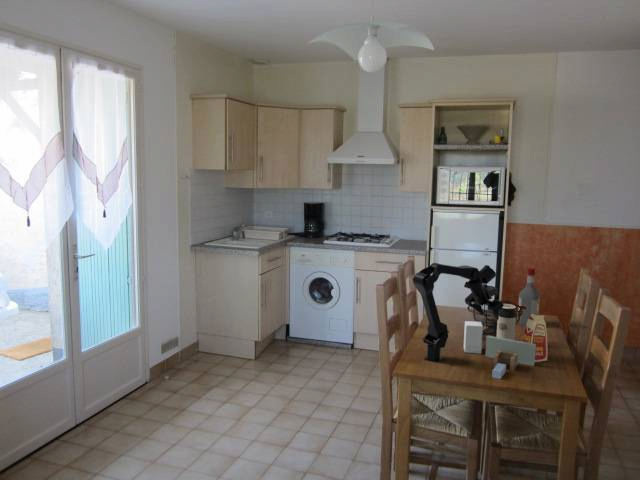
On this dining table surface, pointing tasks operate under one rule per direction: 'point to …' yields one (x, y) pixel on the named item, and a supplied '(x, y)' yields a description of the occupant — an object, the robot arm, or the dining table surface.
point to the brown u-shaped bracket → (506, 359)
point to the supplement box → (473, 337)
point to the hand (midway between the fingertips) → (490, 316)
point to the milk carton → (536, 336)
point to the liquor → (529, 299)
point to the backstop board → (511, 349)
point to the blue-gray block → (499, 371)
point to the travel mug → (506, 322)
